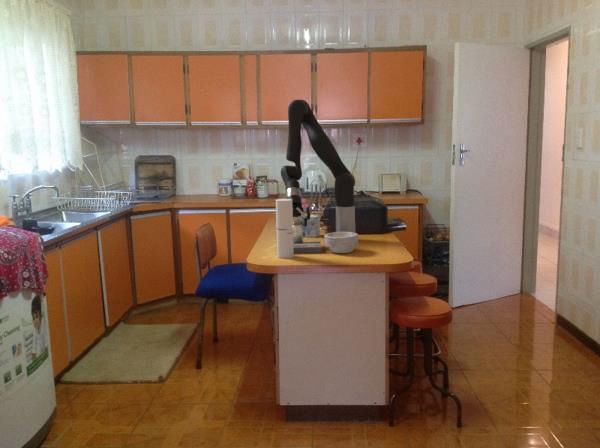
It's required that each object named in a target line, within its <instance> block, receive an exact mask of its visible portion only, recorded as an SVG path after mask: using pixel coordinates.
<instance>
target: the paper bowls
mask: <svg viewBox="0 0 600 448" xmlns="http://www.w3.org/2000/svg"><path fill="white" fill-rule="evenodd" d="M323 241H324V246H325V247H327V248H328V249H329V251H330V252H331V253H335V254H349V253H352V252H353V251H354V249H355V247H357V246H359V234H358V233H356V232H355V233H354V232H336V231H335V232H334V231H333V232H328V233H325V234H324V240H323Z"/></svg>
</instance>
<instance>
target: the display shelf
mask: <svg viewBox="0 0 600 448" xmlns="http://www.w3.org/2000/svg"><path fill="white" fill-rule="evenodd" d="M322 246H323V245H322V243H321V240H319V241H314V240H313V241H303V244H293V251H294V254H315V253H316V254H321V253H322V252H323V251H322V249H323V247H322Z"/></svg>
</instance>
